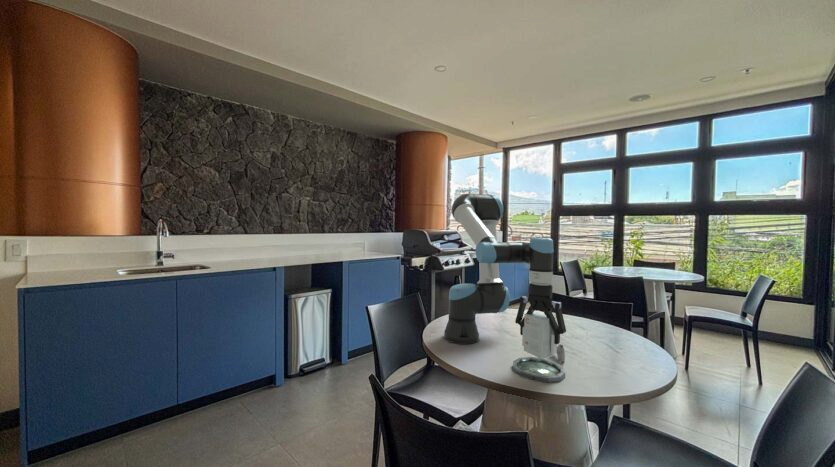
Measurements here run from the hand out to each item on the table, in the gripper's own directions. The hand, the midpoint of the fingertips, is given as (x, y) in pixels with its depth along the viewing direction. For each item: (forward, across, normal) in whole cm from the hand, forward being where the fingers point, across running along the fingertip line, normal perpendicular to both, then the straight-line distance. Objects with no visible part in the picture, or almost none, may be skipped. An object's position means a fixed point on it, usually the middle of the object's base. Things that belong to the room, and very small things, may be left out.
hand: (539, 348), depth 114 cm
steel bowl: (+8, 0, 0) cm, 8 cm away
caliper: (+8, -5, +20) cm, 22 cm away
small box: (+2, 0, 0) cm, 2 cm away
